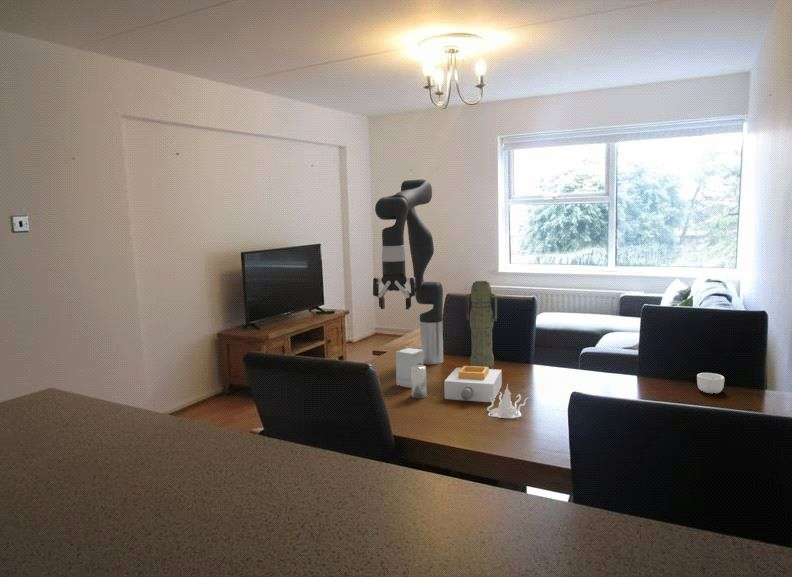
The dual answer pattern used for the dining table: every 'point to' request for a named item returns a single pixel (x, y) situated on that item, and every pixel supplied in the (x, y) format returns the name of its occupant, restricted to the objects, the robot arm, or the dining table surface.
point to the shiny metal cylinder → (418, 381)
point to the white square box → (473, 384)
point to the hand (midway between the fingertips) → (395, 309)
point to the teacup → (710, 382)
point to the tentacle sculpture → (506, 406)
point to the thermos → (481, 323)
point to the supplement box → (407, 365)
